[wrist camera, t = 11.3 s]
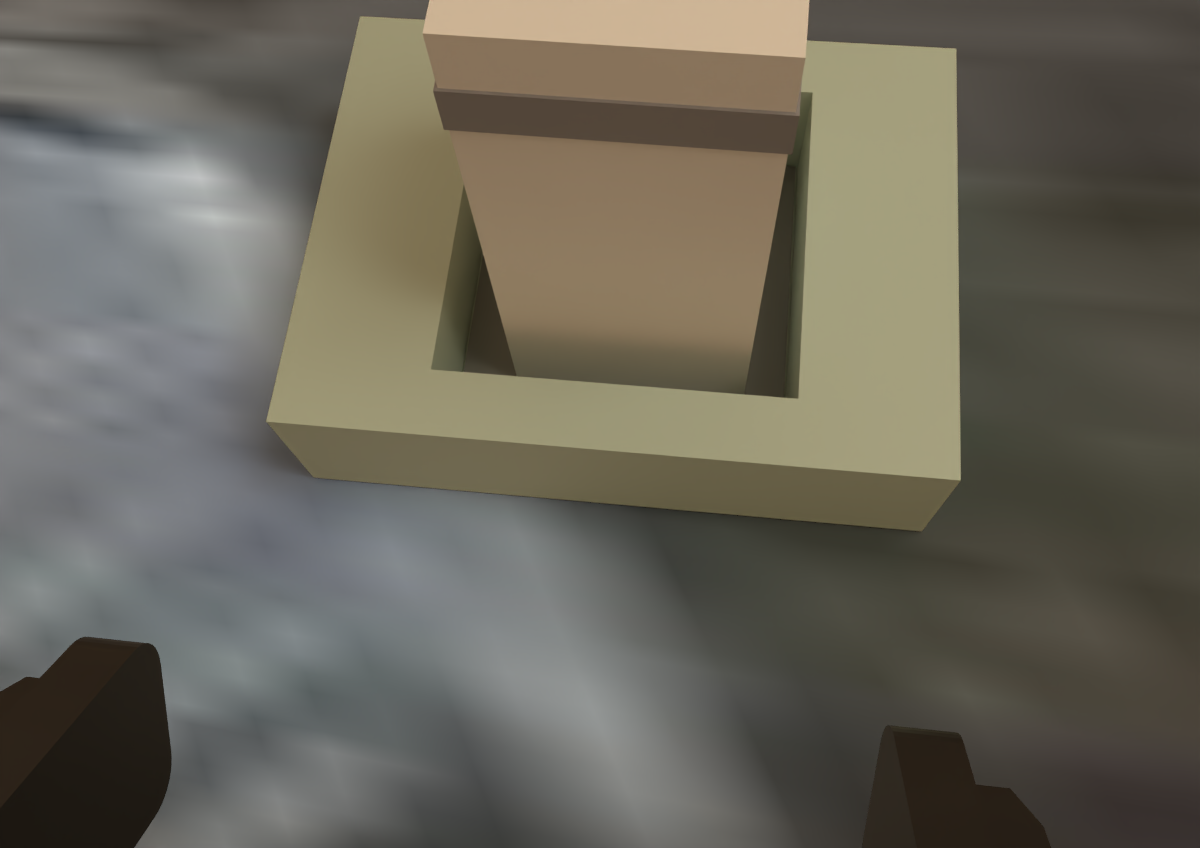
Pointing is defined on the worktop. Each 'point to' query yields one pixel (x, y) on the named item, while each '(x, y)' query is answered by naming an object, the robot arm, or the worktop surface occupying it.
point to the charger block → (623, 175)
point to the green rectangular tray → (624, 412)
